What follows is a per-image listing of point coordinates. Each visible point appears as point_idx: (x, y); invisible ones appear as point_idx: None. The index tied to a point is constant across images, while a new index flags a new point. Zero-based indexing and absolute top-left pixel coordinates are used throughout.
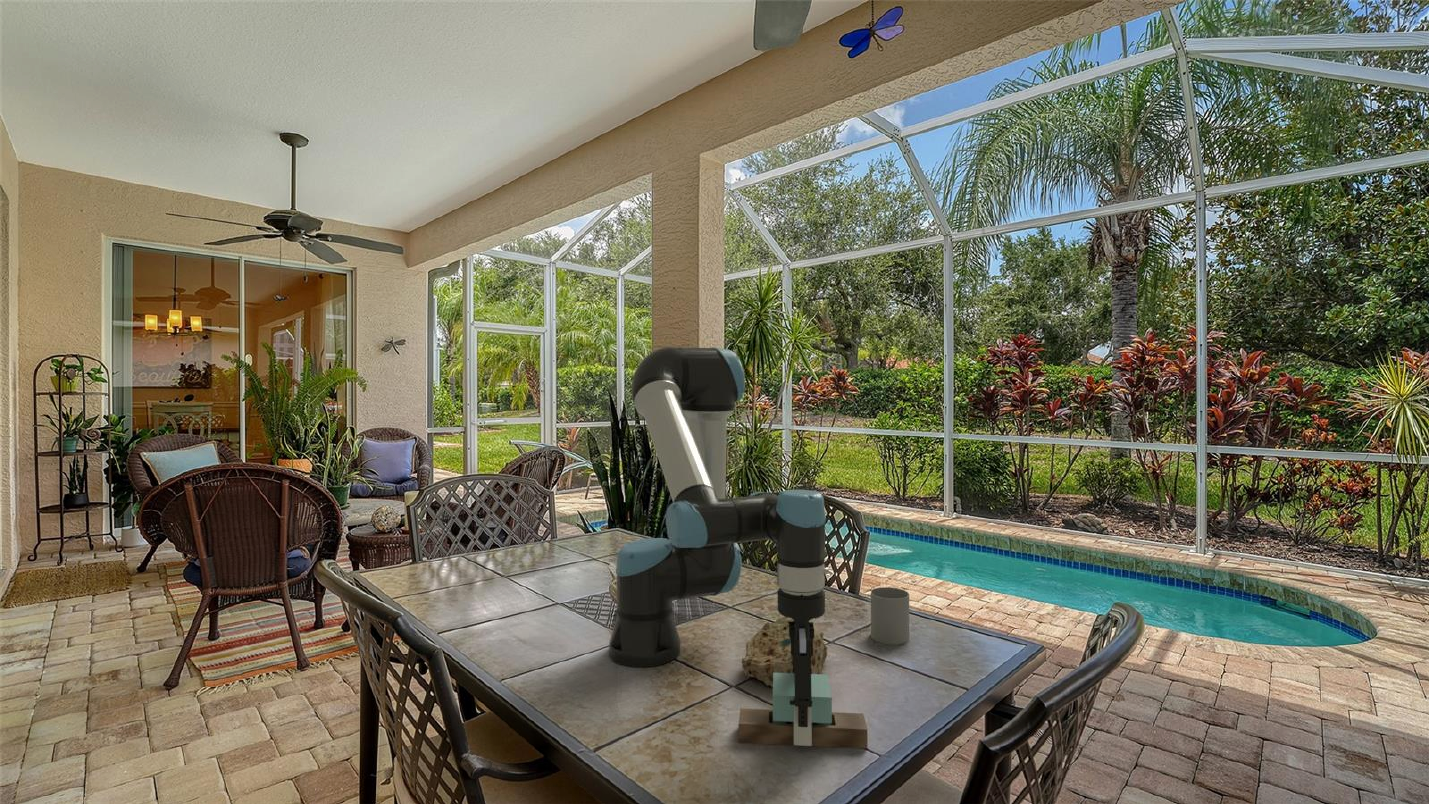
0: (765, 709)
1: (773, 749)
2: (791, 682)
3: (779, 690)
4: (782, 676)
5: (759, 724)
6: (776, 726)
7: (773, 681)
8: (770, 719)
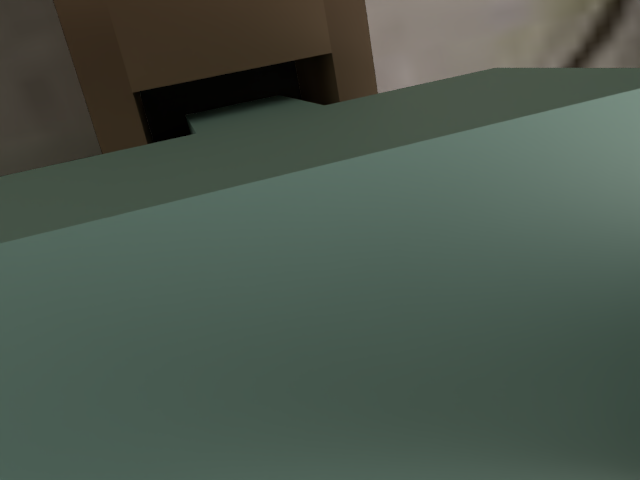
0: (365, 9)
1: (46, 143)
2: (442, 422)
3: (99, 345)
4: (608, 245)
5: (60, 6)
6: None
7: (420, 149)
8: (314, 66)
